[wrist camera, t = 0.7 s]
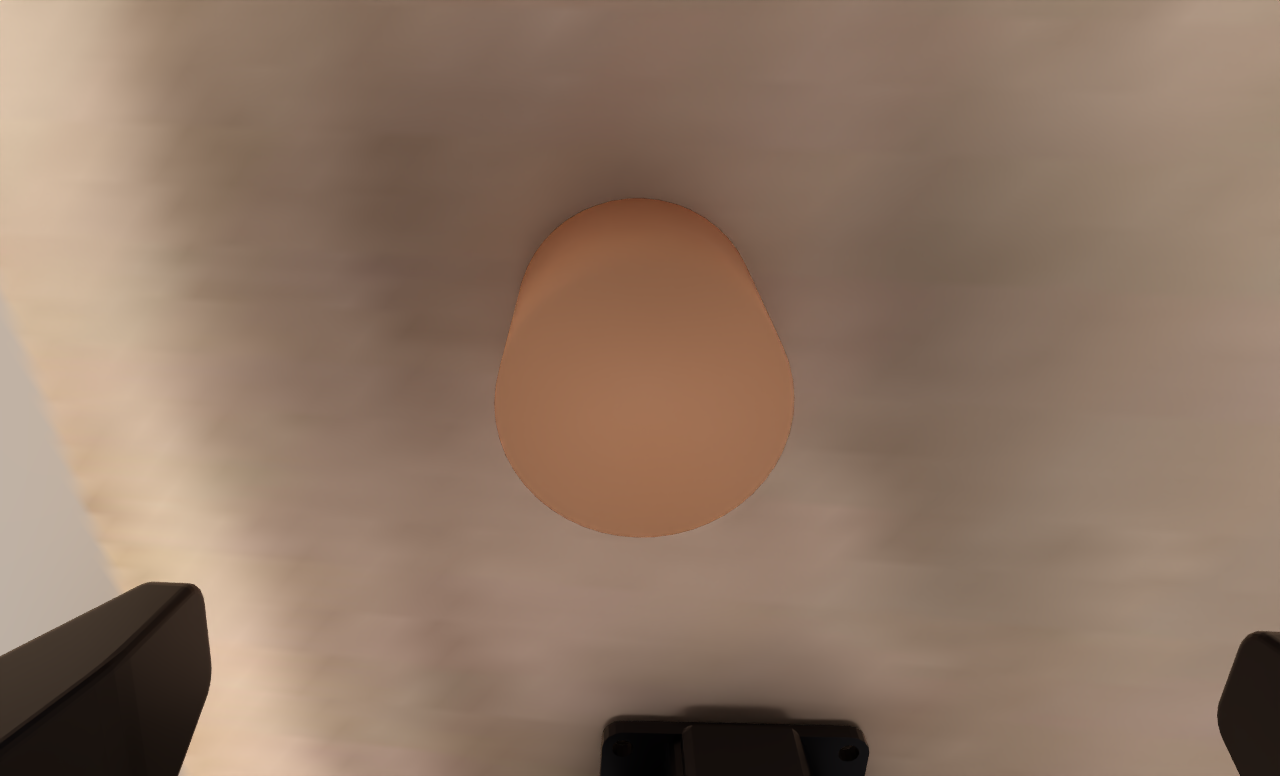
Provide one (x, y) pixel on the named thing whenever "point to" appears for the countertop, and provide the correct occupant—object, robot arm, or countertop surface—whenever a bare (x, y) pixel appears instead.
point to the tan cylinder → (641, 373)
